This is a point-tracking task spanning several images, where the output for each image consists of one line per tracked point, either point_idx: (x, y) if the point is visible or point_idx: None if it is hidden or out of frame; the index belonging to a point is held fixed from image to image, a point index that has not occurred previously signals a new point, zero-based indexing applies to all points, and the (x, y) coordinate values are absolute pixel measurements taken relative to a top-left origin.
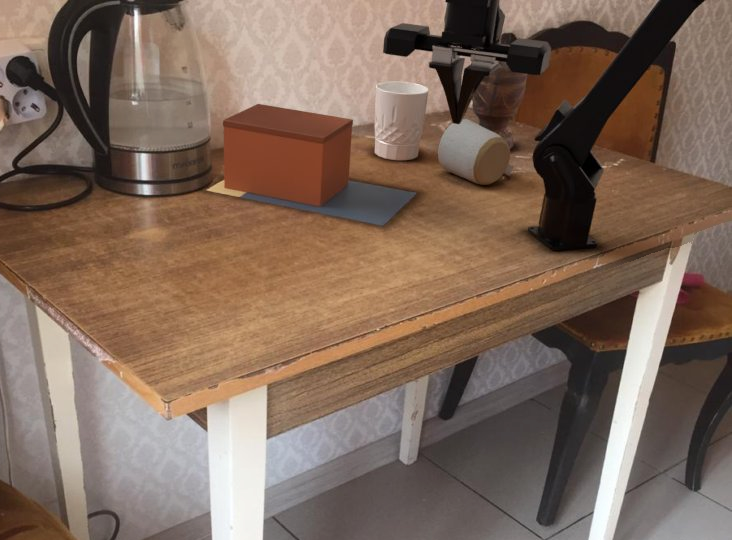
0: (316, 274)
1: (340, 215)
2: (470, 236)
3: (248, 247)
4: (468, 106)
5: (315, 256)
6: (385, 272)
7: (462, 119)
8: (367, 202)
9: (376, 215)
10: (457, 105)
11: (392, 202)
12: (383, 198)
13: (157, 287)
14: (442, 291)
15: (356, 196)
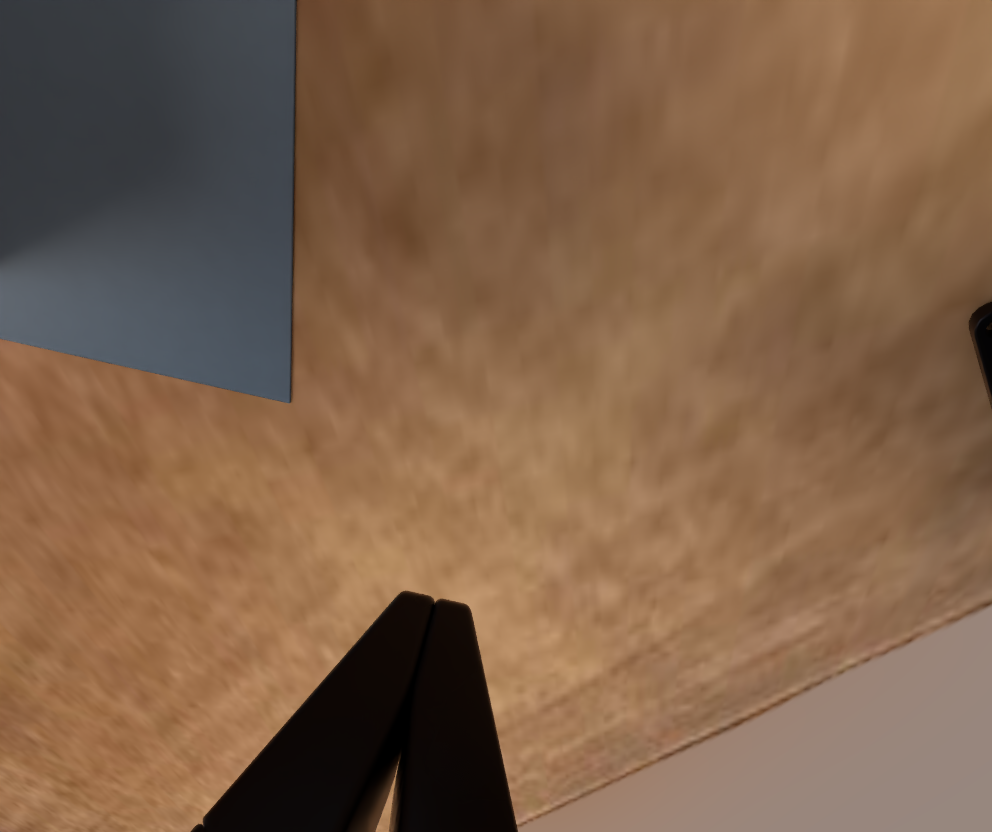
0: (249, 711)
1: (92, 344)
2: (660, 419)
3: (15, 618)
4: (499, 754)
5: (197, 638)
6: None
7: (473, 624)
8: (109, 143)
9: (222, 305)
10: (373, 815)
11: (221, 94)
12: (152, 42)
13: (6, 773)
14: (569, 749)
15: (14, 61)
